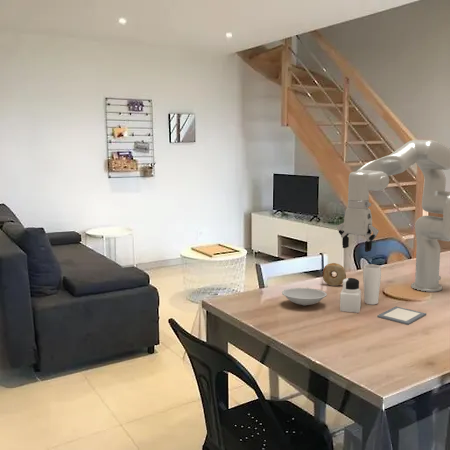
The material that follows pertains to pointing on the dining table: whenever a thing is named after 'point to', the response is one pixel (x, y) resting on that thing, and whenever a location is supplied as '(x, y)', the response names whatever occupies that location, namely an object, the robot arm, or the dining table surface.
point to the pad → (401, 315)
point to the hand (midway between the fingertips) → (356, 249)
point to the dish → (304, 295)
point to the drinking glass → (371, 283)
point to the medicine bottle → (350, 296)
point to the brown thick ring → (331, 279)
